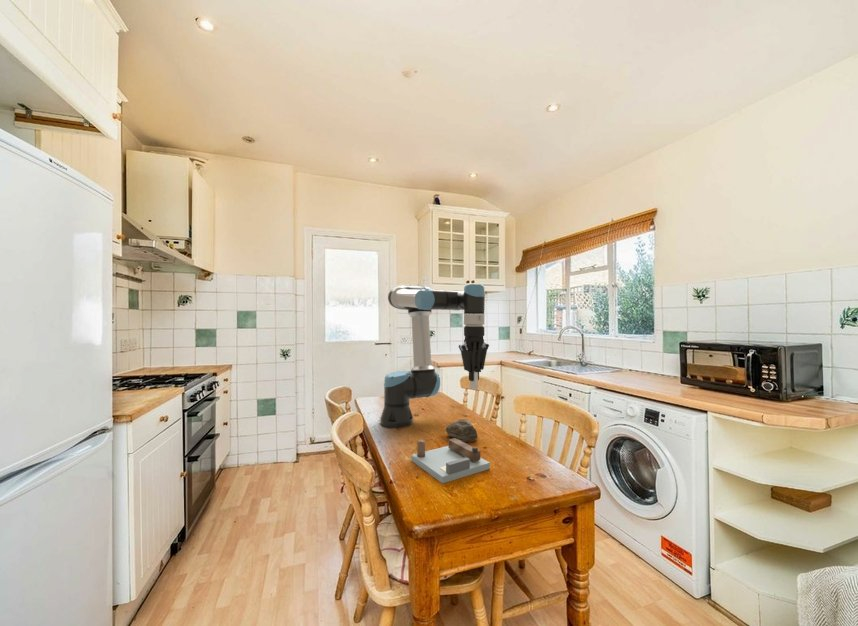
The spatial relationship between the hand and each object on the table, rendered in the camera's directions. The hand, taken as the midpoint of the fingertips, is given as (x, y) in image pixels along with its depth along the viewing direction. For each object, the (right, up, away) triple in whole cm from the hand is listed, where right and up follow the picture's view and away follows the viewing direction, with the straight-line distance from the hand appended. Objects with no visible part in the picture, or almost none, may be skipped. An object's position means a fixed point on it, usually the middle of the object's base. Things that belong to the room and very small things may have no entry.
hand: (473, 389), depth 128 cm
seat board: (-10, -23, -11) cm, 27 cm away
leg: (-5, -21, -8) cm, 23 cm away
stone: (-3, -23, +15) cm, 28 cm away
